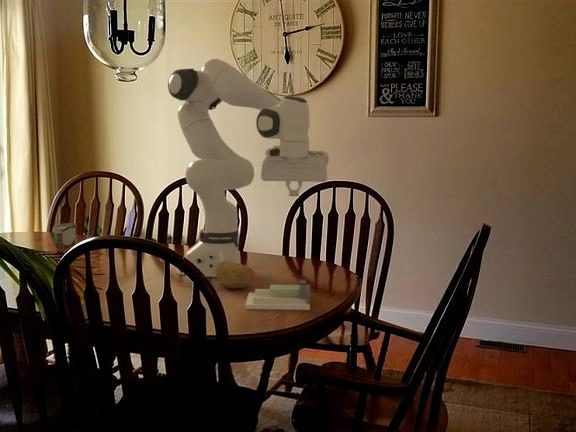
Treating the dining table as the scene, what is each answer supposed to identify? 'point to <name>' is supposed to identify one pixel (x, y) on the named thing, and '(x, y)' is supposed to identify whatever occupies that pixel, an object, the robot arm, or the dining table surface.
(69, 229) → the food container
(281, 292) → the green block
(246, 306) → the beige shallow tray
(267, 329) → the dining table surface
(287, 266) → the dining table surface
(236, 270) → the potato
